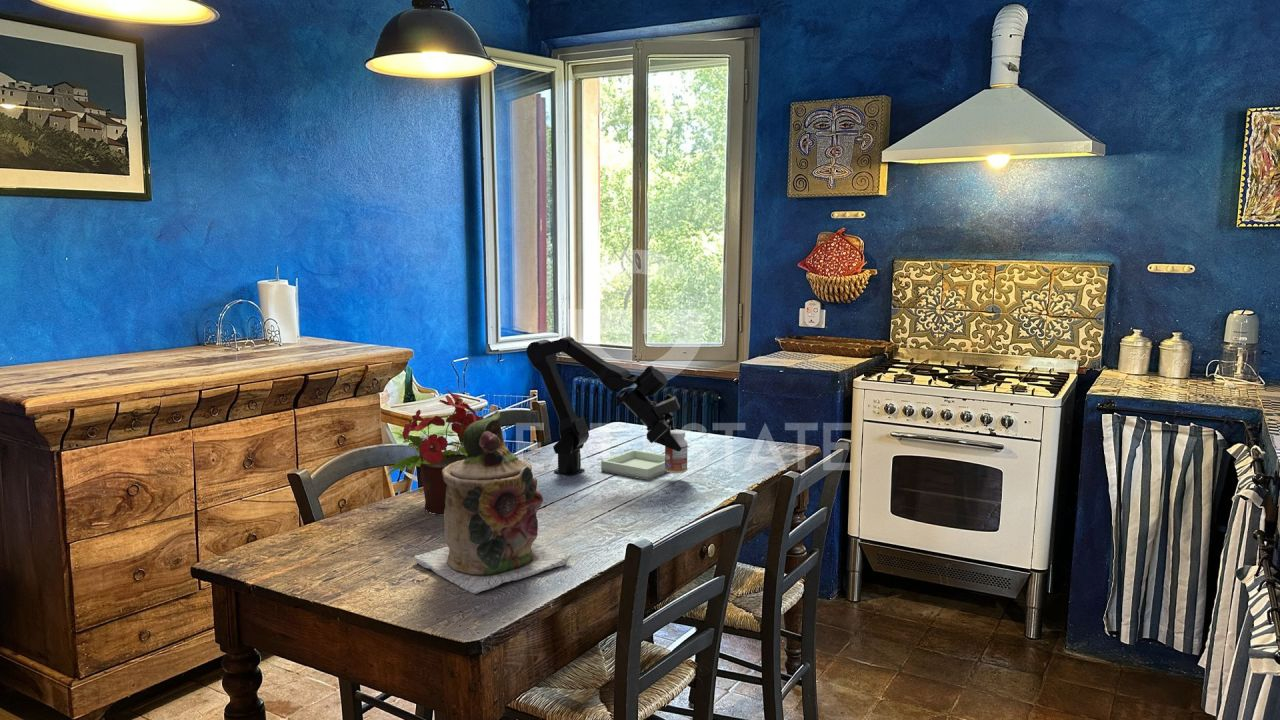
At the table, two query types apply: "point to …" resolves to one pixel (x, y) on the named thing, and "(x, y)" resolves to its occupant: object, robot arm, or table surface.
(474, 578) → the cookie jar
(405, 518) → the table surface
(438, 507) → the potted plant
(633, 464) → the tray
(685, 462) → the pill bottle
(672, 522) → the table surface
